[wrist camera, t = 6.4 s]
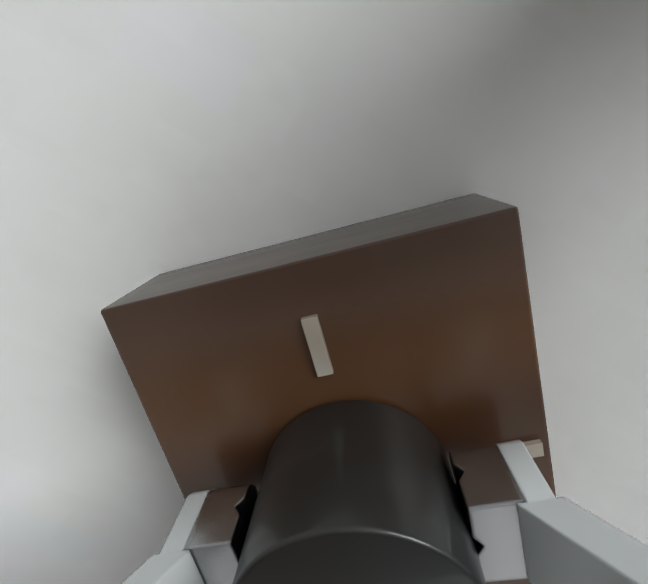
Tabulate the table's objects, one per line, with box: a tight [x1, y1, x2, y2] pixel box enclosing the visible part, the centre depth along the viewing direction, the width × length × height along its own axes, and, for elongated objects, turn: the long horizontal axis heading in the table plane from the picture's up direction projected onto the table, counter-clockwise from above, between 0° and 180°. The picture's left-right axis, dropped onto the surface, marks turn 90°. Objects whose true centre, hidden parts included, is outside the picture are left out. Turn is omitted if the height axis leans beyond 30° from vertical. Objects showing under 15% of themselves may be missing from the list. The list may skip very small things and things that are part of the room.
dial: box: [233, 400, 486, 584], centre depth 8 cm, size 4×4×4 cm
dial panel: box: [101, 194, 556, 584], centre depth 12 cm, size 11×9×3 cm
